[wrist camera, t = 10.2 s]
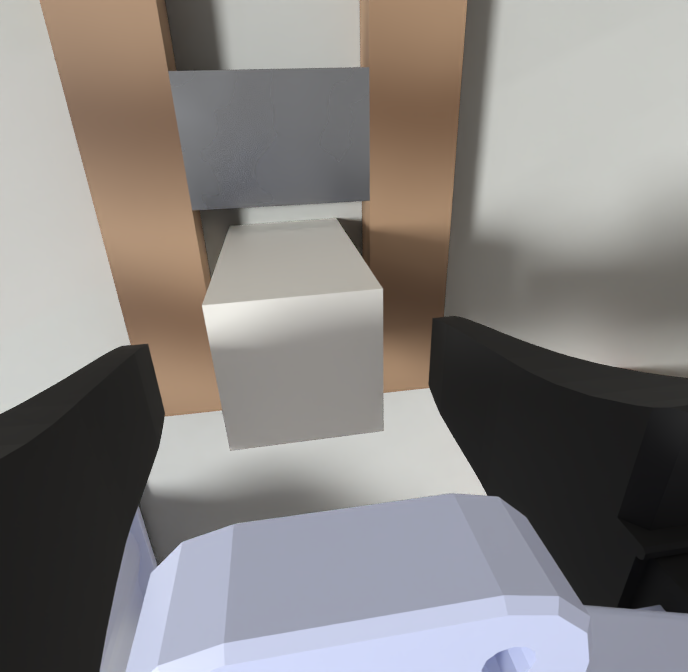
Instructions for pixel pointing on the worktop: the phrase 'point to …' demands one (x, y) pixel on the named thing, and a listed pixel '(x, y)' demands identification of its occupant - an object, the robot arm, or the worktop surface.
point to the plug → (295, 334)
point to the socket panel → (263, 166)
